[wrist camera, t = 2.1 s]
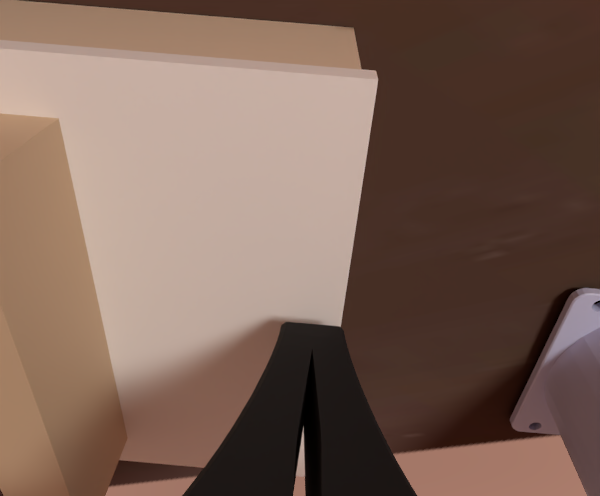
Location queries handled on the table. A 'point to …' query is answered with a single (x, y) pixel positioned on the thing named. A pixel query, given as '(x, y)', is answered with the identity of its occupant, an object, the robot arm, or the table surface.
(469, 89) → the table surface
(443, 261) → the table surface
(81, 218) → the lid
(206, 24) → the box
